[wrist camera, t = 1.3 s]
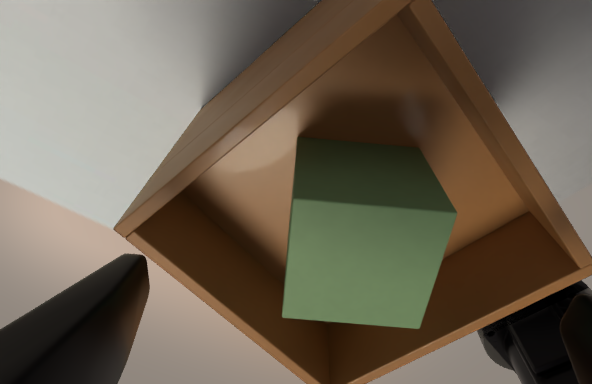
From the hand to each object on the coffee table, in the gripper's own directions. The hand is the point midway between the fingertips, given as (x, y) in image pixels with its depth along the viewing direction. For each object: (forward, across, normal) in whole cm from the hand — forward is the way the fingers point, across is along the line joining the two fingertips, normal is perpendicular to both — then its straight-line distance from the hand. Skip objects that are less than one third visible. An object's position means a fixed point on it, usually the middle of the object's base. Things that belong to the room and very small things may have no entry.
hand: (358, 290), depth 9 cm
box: (+12, 0, +1) cm, 12 cm away
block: (+5, 0, +1) cm, 5 cm away
